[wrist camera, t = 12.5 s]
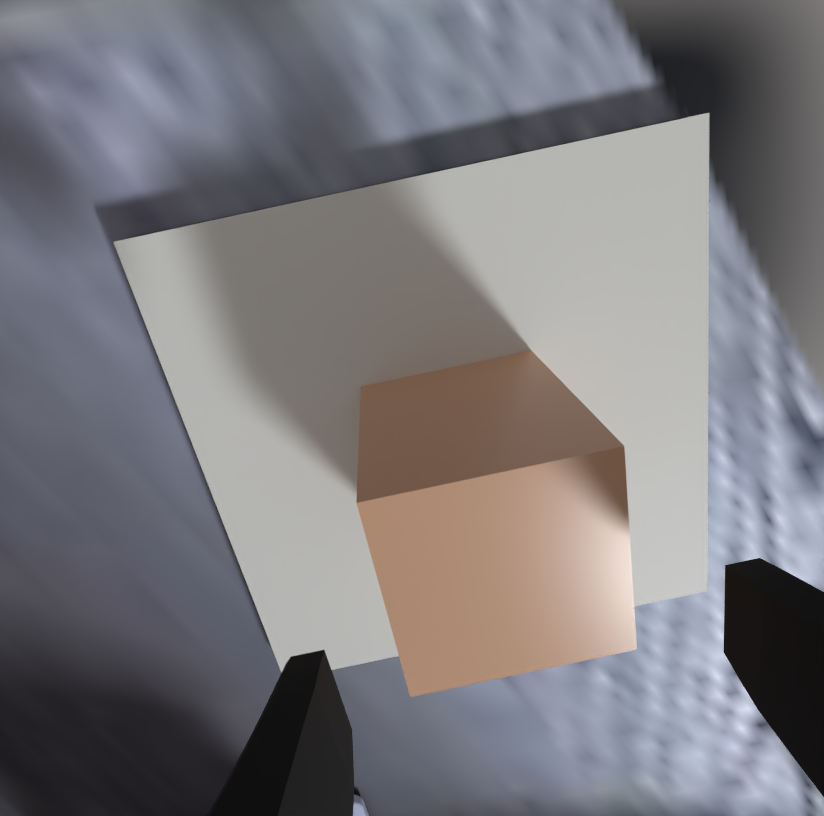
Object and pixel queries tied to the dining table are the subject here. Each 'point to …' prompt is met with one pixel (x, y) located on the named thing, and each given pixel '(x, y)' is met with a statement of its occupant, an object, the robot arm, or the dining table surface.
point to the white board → (437, 350)
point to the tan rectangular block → (494, 522)
